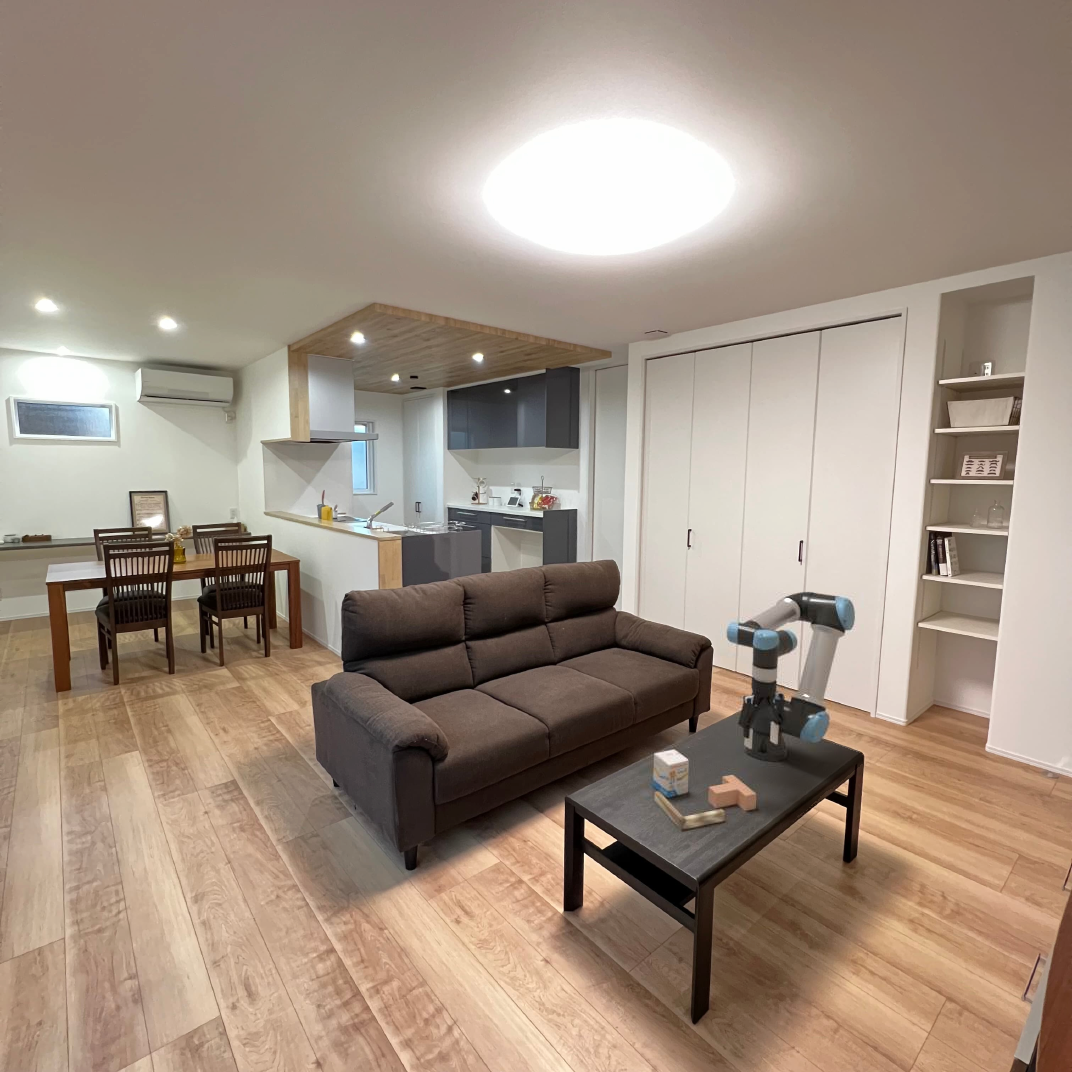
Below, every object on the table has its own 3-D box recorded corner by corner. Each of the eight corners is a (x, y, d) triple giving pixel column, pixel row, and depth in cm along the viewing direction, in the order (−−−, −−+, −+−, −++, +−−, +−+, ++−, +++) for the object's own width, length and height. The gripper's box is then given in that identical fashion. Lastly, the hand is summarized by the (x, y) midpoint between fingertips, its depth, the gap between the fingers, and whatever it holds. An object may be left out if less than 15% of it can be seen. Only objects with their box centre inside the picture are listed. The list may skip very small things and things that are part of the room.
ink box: (667, 798, 186) (668, 764, 185) (652, 785, 194) (653, 753, 193) (688, 792, 190) (689, 759, 188) (673, 780, 198) (674, 748, 196)
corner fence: (694, 792, 190) (695, 784, 189) (724, 820, 174) (724, 811, 174) (654, 800, 185) (654, 792, 185) (681, 830, 170) (681, 820, 170)
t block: (723, 815, 177) (723, 800, 177) (701, 794, 189) (701, 780, 188) (755, 808, 181) (756, 793, 180) (732, 788, 192) (732, 774, 192)
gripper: (784, 671, 191) (780, 734, 193) (727, 678, 184) (725, 744, 187) (800, 678, 184) (797, 745, 186) (742, 686, 177) (739, 755, 180)
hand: (761, 744), depth 186 cm, fingers open, 9 cm apart
